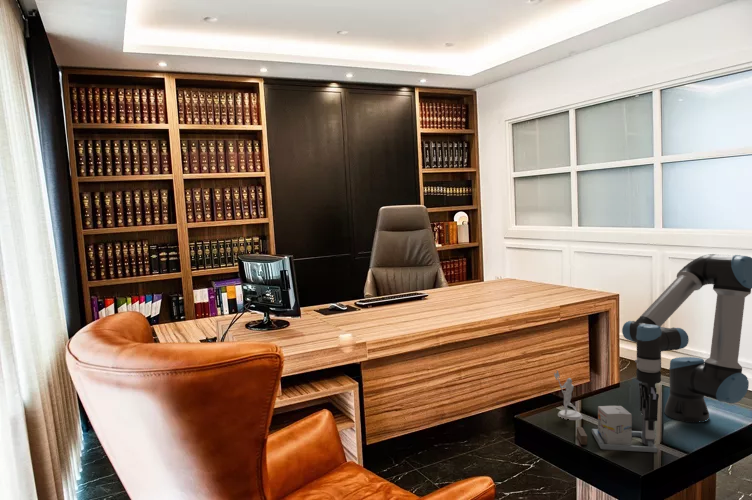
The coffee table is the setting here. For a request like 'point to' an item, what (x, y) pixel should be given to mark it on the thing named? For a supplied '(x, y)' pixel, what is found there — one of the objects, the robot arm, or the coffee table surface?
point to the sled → (649, 442)
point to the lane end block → (581, 435)
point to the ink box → (615, 425)
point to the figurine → (568, 401)
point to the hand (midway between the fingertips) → (648, 436)
